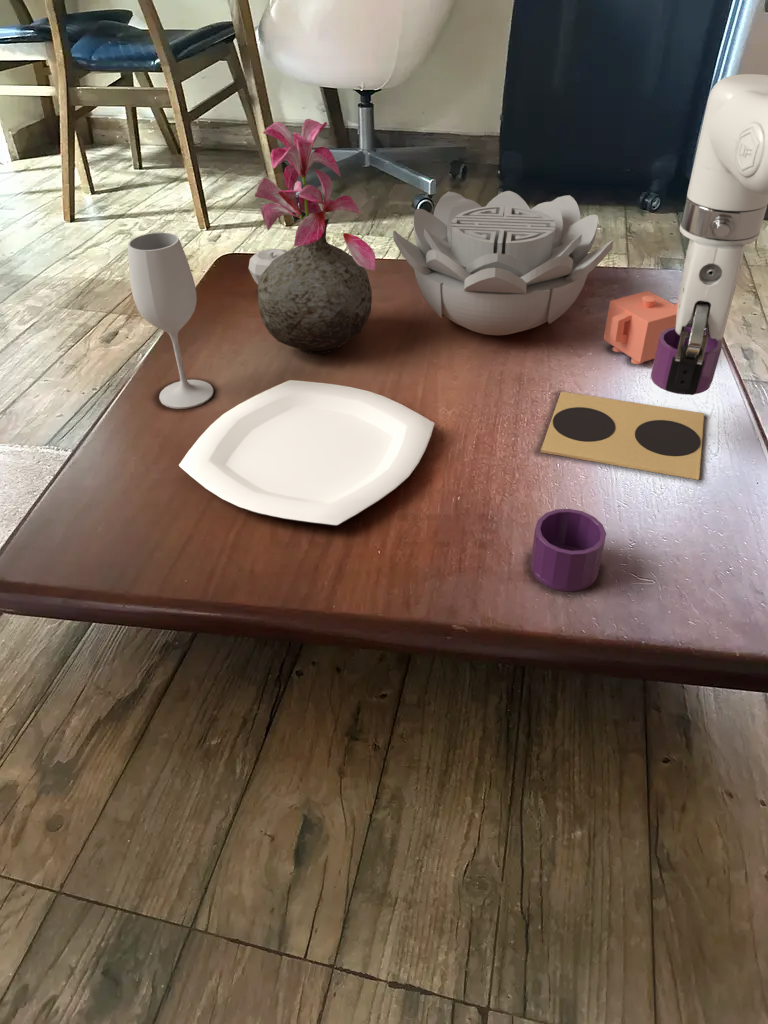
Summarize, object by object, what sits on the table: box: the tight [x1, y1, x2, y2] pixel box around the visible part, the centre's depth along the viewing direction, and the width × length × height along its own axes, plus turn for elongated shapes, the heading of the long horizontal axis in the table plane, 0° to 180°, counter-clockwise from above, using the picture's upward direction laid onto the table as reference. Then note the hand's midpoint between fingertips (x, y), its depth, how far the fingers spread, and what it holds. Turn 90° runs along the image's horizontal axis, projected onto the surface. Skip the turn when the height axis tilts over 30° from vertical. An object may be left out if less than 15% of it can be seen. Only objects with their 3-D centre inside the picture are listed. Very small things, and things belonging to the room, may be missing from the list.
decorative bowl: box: [392, 190, 614, 336], centre depth 115 cm, size 30×30×15 cm
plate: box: [178, 379, 435, 527], centre depth 93 cm, size 27×27×2 cm
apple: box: [248, 248, 288, 286], centre depth 129 cm, size 8×8×7 cm
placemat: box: [540, 391, 705, 481], centre depth 96 cm, size 18×14×1 cm
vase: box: [254, 118, 377, 355], centre depth 107 cm, size 17×17×30 cm
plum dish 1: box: [530, 508, 607, 592], centre depth 77 cm, size 7×7×5 cm
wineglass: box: [127, 231, 214, 410], centre depth 99 cm, size 8×8×21 cm
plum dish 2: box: [650, 326, 723, 396], centre depth 88 cm, size 7×7×5 cm
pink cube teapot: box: [603, 290, 678, 365], centre depth 109 cm, size 8×12×8 cm, turn 116°
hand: (682, 374), depth 89 cm, fingers closed on plum dish 2, 6 cm apart
